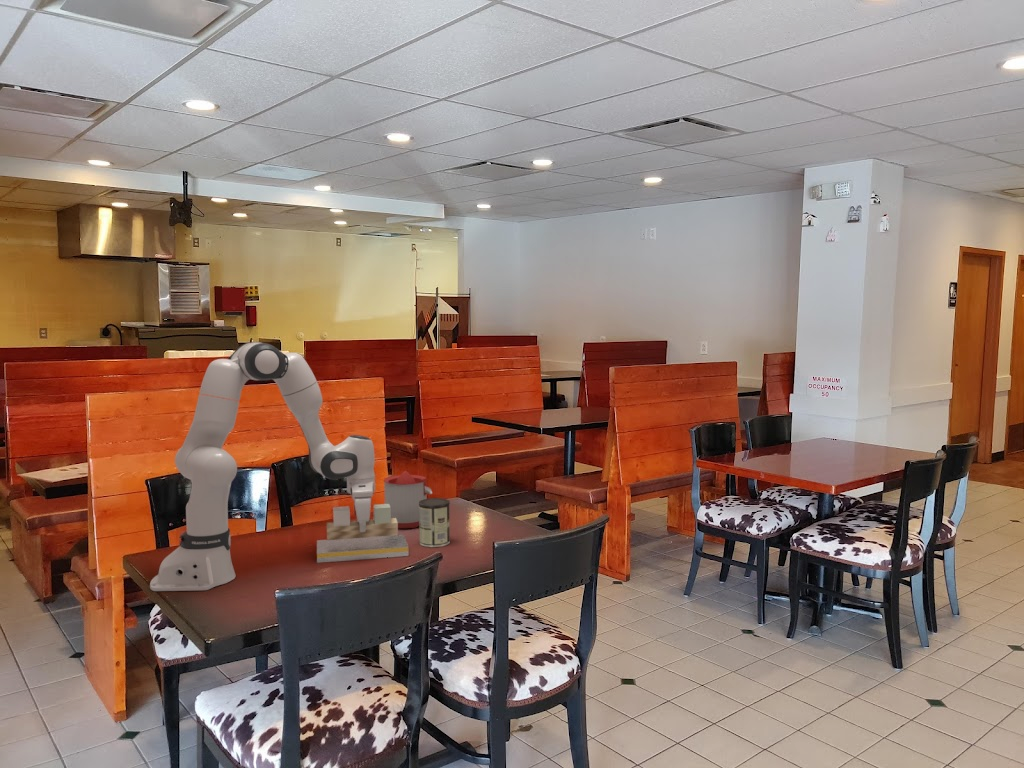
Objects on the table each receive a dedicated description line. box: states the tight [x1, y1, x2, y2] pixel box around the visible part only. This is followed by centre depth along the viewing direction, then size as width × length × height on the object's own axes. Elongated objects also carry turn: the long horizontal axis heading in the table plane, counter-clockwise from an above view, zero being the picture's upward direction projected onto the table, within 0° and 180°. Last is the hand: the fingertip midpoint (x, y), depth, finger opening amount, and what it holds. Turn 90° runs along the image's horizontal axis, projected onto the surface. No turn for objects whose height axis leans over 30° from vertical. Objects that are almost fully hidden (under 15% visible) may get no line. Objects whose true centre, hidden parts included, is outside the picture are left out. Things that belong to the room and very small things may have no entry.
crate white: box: [332, 505, 351, 527], centre depth 242 cm, size 5×5×5 cm
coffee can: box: [418, 497, 451, 548], centre depth 255 cm, size 10×10×14 cm
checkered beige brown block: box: [326, 518, 399, 540], centre depth 244 cm, size 22×6×4 cm, turn 104°
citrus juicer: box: [383, 470, 433, 529], centre depth 276 cm, size 16×17×20 cm
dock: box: [316, 534, 410, 564], centre depth 244 cm, size 28×14×3 cm, turn 104°
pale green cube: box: [372, 503, 391, 524], centre depth 245 cm, size 5×5×5 cm
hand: (362, 528), depth 244 cm, fingers closed on checkered beige brown block, 6 cm apart
